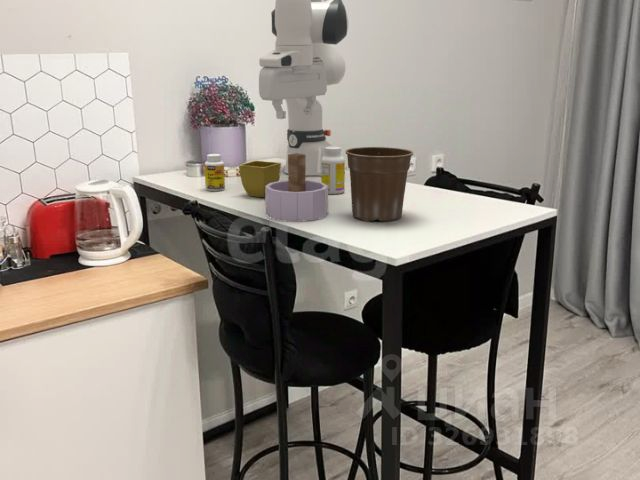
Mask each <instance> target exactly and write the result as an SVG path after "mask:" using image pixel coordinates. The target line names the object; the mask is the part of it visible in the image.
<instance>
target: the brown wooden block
mask: <svg viewBox="0 0 640 480" xmlns="http://www.w3.org/2000/svg"><path fill="white" fill-rule="evenodd" d="M287 175H288V177H287V179H288V192H304V191H306V179H307V178H306V155H305V154H298V153H295V154H289V155H288V174H287Z"/></svg>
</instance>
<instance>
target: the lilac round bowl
mask: <svg viewBox="0 0 640 480" xmlns="http://www.w3.org/2000/svg"><path fill="white" fill-rule="evenodd" d="M264 198H265V200H264V201H265V215H266V214H267V215H268V216H269V217H271V218H270V219H272V218H275V219H274V220H276V219H279V220H278V221H280V220H286V221H285V222H294V221H300V222H304V221H303V220H313V221H315V219H317V220H319V218H320V219H323V218H324V219H325V217H326V216H327V215H329V194H328V186H327V185H326V184H324V183H321V181H316V180H315V181H314V180H306V191H304V192H288V180H287V179H286V180H279V181H278V182H273V183H269V184H268V185H266V186H265V197H264ZM267 215H266V216H267ZM268 216H267V217H268ZM269 217H268V218H269Z"/></svg>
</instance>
